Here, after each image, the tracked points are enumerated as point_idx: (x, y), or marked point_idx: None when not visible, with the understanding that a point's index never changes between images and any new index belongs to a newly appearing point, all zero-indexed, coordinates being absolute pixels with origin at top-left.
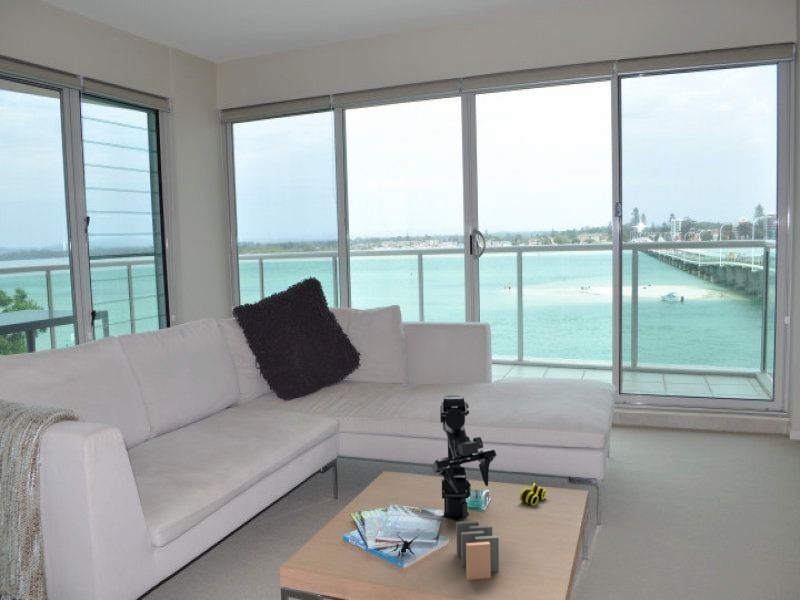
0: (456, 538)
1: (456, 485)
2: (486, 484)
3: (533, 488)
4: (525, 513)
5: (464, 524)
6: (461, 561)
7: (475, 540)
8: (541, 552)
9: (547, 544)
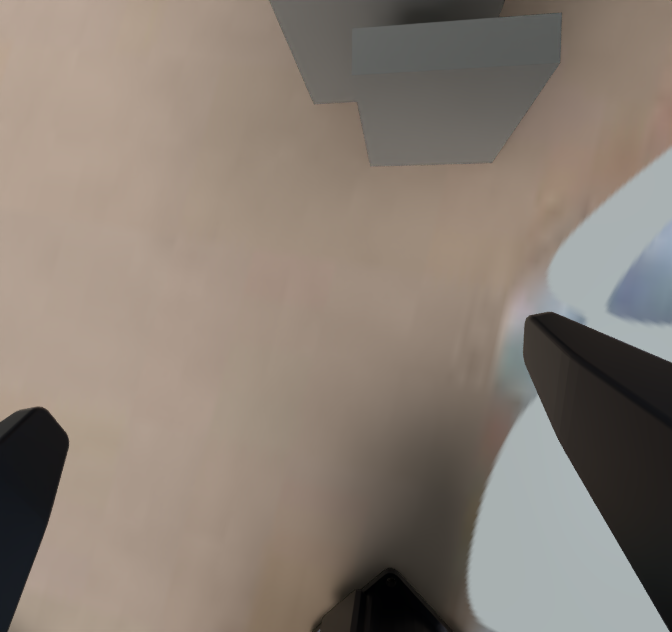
0: (515, 124)
1: (615, 366)
2: (35, 423)
3: None
4: None
5: (485, 24)
6: (500, 8)
7: None
8: (69, 122)
9: (20, 201)
